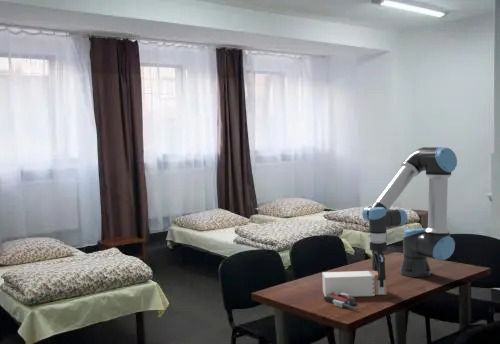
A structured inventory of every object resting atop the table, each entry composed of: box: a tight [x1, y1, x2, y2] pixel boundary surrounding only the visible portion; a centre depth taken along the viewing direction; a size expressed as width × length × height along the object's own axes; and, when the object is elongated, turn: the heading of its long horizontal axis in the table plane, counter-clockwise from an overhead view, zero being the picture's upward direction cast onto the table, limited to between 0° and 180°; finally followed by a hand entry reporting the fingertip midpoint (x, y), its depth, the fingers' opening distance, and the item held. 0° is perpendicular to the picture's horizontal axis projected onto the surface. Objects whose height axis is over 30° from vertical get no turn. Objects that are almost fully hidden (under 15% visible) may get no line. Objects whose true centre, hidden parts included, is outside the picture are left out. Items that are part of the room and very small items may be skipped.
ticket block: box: [321, 270, 376, 298], centre depth 235 cm, size 22×9×9 cm, turn 90°
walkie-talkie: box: [323, 292, 359, 311], centre depth 220 cm, size 9×4×20 cm
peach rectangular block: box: [370, 270, 388, 296], centre depth 234 cm, size 5×8×9 cm, turn 0°
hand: (378, 290), depth 235 cm, fingers closed on peach rectangular block, 8 cm apart
